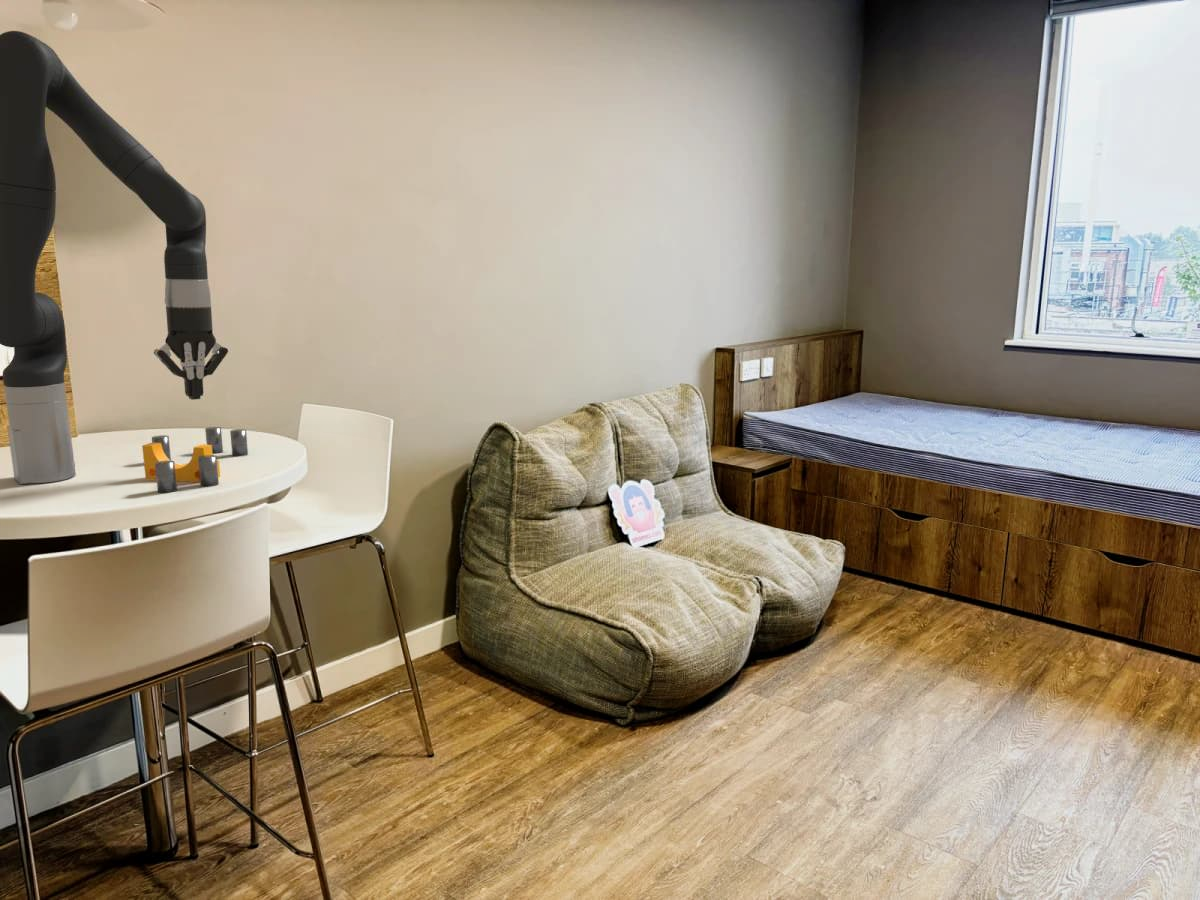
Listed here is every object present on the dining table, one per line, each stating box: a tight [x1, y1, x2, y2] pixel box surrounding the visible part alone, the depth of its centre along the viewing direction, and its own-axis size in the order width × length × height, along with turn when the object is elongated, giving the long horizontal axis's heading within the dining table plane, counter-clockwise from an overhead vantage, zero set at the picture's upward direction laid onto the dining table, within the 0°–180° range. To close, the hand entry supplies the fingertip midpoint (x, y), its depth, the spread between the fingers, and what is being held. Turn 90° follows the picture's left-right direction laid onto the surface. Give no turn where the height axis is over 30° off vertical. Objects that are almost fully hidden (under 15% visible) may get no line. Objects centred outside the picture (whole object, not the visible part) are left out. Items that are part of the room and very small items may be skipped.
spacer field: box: [151, 426, 249, 494], centre depth 171 cm, size 23×31×5 cm
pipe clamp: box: [141, 442, 221, 483], centre depth 164 cm, size 12×4×6 cm, turn 80°
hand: (194, 398), depth 167 cm, fingers closed
